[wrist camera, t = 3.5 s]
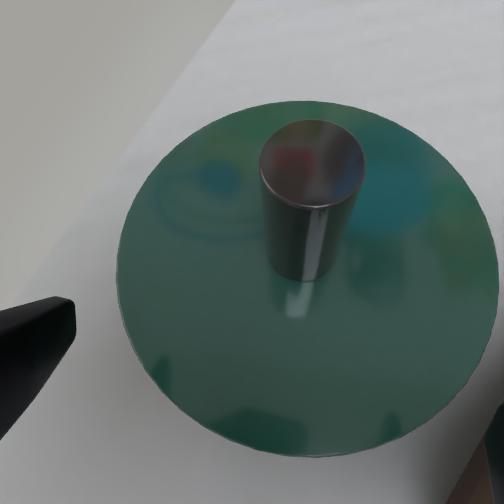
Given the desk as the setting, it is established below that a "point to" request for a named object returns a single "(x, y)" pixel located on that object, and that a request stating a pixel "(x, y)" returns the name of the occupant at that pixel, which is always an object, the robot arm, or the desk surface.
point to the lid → (307, 279)
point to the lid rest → (474, 481)
